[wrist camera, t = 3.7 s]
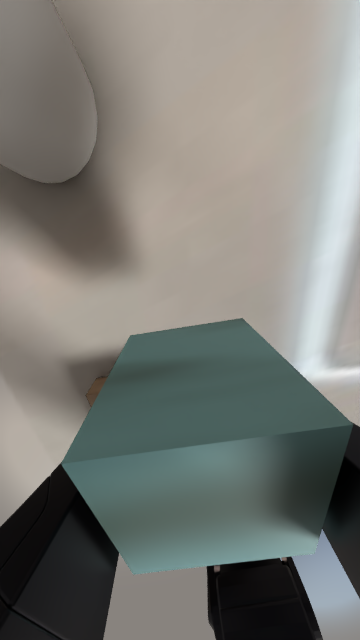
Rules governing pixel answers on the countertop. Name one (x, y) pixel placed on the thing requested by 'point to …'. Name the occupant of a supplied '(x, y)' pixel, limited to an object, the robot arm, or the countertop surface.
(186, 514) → the teal block
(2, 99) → the can
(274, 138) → the countertop surface
